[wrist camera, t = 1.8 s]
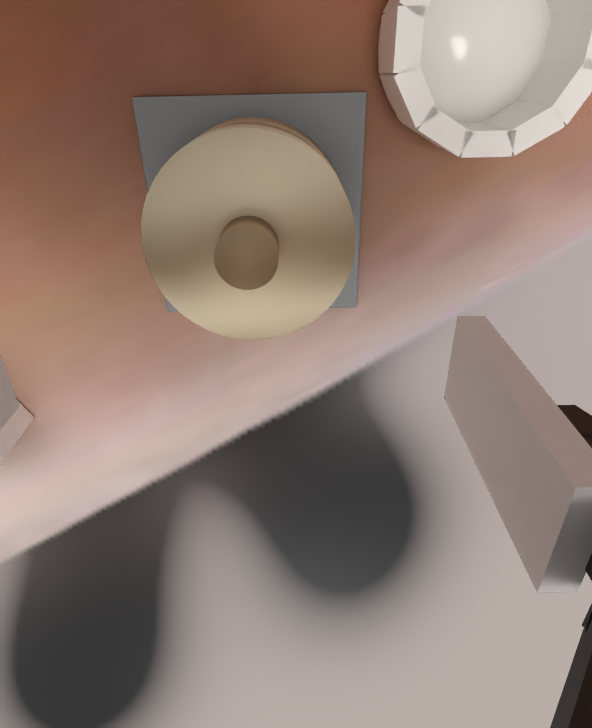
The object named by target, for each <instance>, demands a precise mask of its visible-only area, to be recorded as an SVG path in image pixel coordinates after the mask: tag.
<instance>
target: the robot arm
mask: <svg viewBox="0 0 592 728" xmlns="http://www.w3.org/2000/svg"><path fill="white" fill-rule="evenodd" d="M444 398H445V400H446V402H447V405H448V407H449V409H450V411H451V413H452V415H453V417H454V419H455V421H456V423H457V426H458V428H459V430H460V432H461V434H462V436H463V438H464V440H465V442H466V445H467V447H468V449H469V451H470V453H471V455H472V457H473V459H474V461H475V463H476V466H477V468H478V470H479V472H480V474H481V476H482V478H483V480H484V482H485V484H486V487H487V488H488V491H489V493H490V495H491V497H492V499H493V501H494V503H495V505H496V507H497V510H498V512H499V514H500V516H501V518H502V520H503V522H504V524H505V526H506V528H507V530H508V533H509V535H510V537H511V539H512V541H513V543H514V545H515V547H516V549H517V552H518V554H519V556H520V558H521V560H522V562H523V564H524V566H525V568H526V570H527V572H528V574H529V577H530V579H531V581H532V583H533V585H534V587H535V589H536V591H537V593H563V592H564V593H566V592H578V589H579V587H580V585H581V582H582V580H583V578H584V575H585V573H586V572H587V574H588V575H589V577H590V579H591V580H592V416H591V415H590V414H588V413H587V412H585V411H583V410H582V409H580V408H579V407H577V406H576V405H556V403H555V402H554V401H553V400H552V399H551V397H550V396H549V395H548V394H547V392H546V391H545V390H544V389H543V387H542V386H541V385H540V384H539V382H538V381H537V380H536V379H535V377H534V376H533V375H532V374H531V373H530V371H529V370H528V369H527V368H526V366H525V365H524V364H523V363H522V361H521V360H520V359H519V358H518V356H517V355H516V354H515V353H514V351H513V350H512V349H511V348H510V347H509V345H508V344H507V343H506V342H505V340H504V339H503V338H502V337H501V335H500V334H499V333H498V332H497V330H496V329H495V328H494V327H493V326H492V324H491V323H490V322H489V321H488V319H487V318H486V317H485V316H457V322H456V328H455V335H454V341H453V347H452V353H451V359H450V365H449V371H448V377H447V384H446V390H445V396H444ZM18 408H19V404H18V401H17V399H16V396H15V393H14V391H13V388H12V385H11V382H10V380H9V377H8V374H7V372H6V369H5V366H4V364H3V361H2V358H1V356H0V430H1V429H2V427H3V426H4V425H5V424H6V423H7V421H8V420H9V419H10V418H11V416H12V415H13V414H14V413H15V412H16V410H17V409H18ZM582 626H583V627H584V629H583V632H582V635H581V638H580V641H579V644H578V647H577V650H576V653H575V656H574V659H573V662H572V665H571V668H570V671H569V674H568V677H567V679H566V682H565V685H564V688H563V691H562V695H561V697H560V700H559V703H558V706H557V709H556V712H555V715H554V718H553V721H552V724H551V727H550V728H592V604H591V606H590V608H589V611H588V613H587V615H586V617H585V619H584V621H583V623H582Z"/></svg>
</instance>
